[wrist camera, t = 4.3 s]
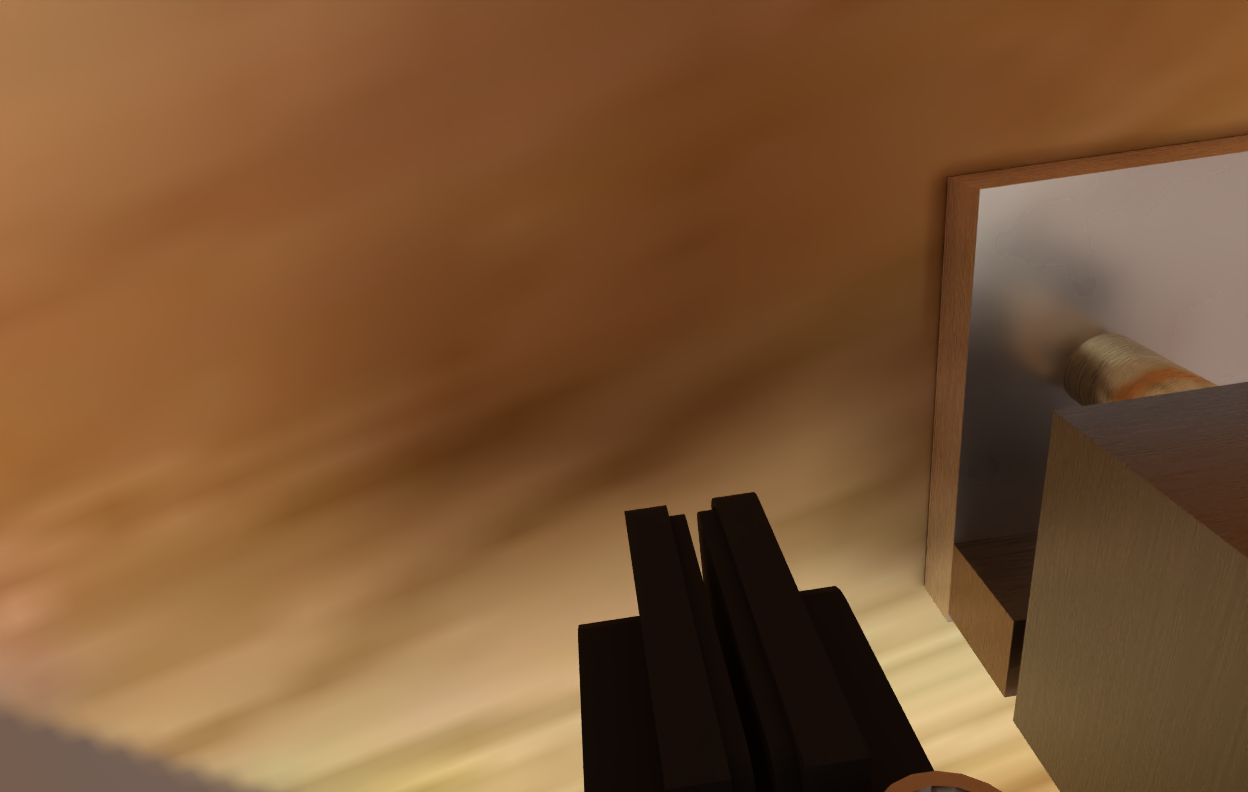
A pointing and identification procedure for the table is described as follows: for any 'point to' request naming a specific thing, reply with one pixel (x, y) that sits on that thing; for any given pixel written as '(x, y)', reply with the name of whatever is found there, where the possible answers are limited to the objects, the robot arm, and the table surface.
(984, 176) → the bolt plate
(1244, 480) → the grey block with knob
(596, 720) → the robot arm
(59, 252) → the table surface
